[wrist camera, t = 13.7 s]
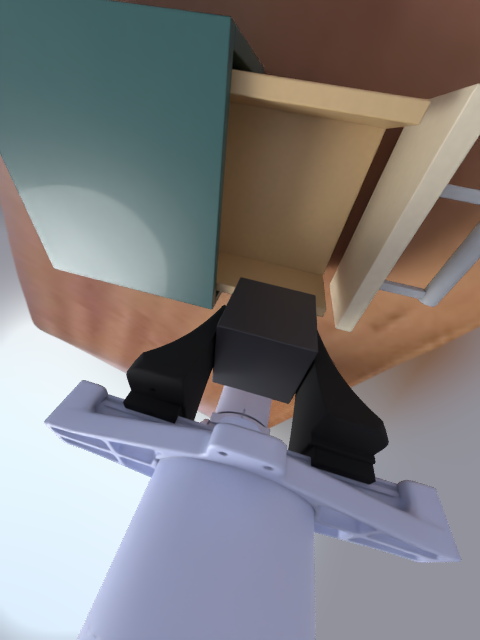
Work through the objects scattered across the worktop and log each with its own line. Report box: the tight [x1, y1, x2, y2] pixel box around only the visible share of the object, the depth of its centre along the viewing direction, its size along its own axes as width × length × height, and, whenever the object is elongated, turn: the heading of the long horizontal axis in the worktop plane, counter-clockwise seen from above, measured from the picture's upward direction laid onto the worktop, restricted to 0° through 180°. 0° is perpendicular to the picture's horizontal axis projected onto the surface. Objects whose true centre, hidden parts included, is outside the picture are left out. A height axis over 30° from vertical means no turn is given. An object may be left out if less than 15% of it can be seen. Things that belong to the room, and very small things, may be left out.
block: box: [212, 277, 318, 404], centre depth 14 cm, size 5×5×5 cm
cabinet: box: [0, 0, 264, 309], centre depth 17 cm, size 14×14×8 cm
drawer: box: [216, 69, 480, 332], centre depth 16 cm, size 18×13×7 cm
